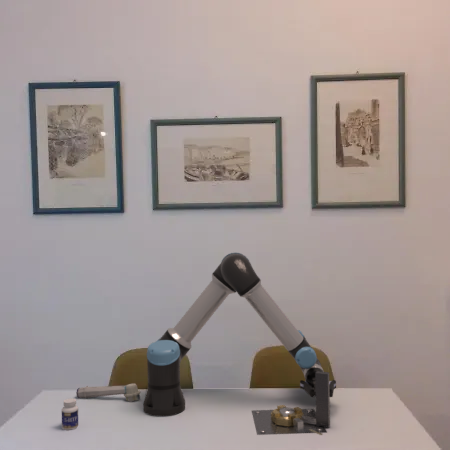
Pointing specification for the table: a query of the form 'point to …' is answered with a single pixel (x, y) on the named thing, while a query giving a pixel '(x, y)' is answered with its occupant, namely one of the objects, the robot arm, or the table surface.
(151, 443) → the table surface
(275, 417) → the grey and tan piece
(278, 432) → the flange
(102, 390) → the grey elongated piece
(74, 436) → the table surface
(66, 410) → the pill bottle
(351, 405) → the table surface
